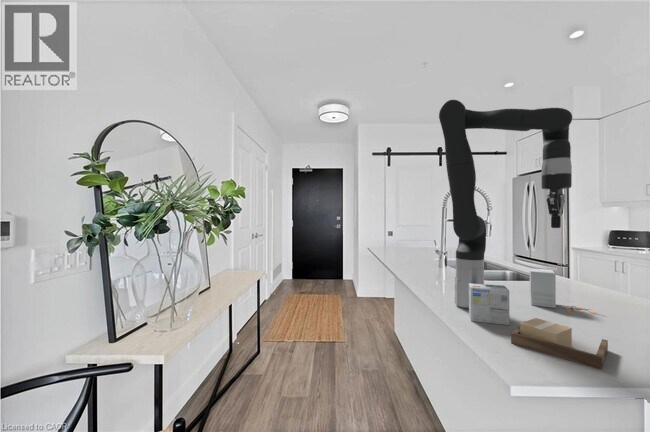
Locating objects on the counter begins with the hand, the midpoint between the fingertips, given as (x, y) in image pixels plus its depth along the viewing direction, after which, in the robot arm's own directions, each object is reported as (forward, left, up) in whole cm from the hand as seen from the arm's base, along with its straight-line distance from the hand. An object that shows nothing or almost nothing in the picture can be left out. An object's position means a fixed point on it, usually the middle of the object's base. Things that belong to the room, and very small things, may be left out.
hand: (555, 227), depth 93 cm
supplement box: (+2, +16, -29) cm, 33 cm away
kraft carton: (-11, -23, -29) cm, 39 cm away
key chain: (+12, +12, -30) cm, 34 cm away
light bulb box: (-21, -8, -29) cm, 37 cm away
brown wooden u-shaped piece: (-8, -23, -29) cm, 38 cm away
